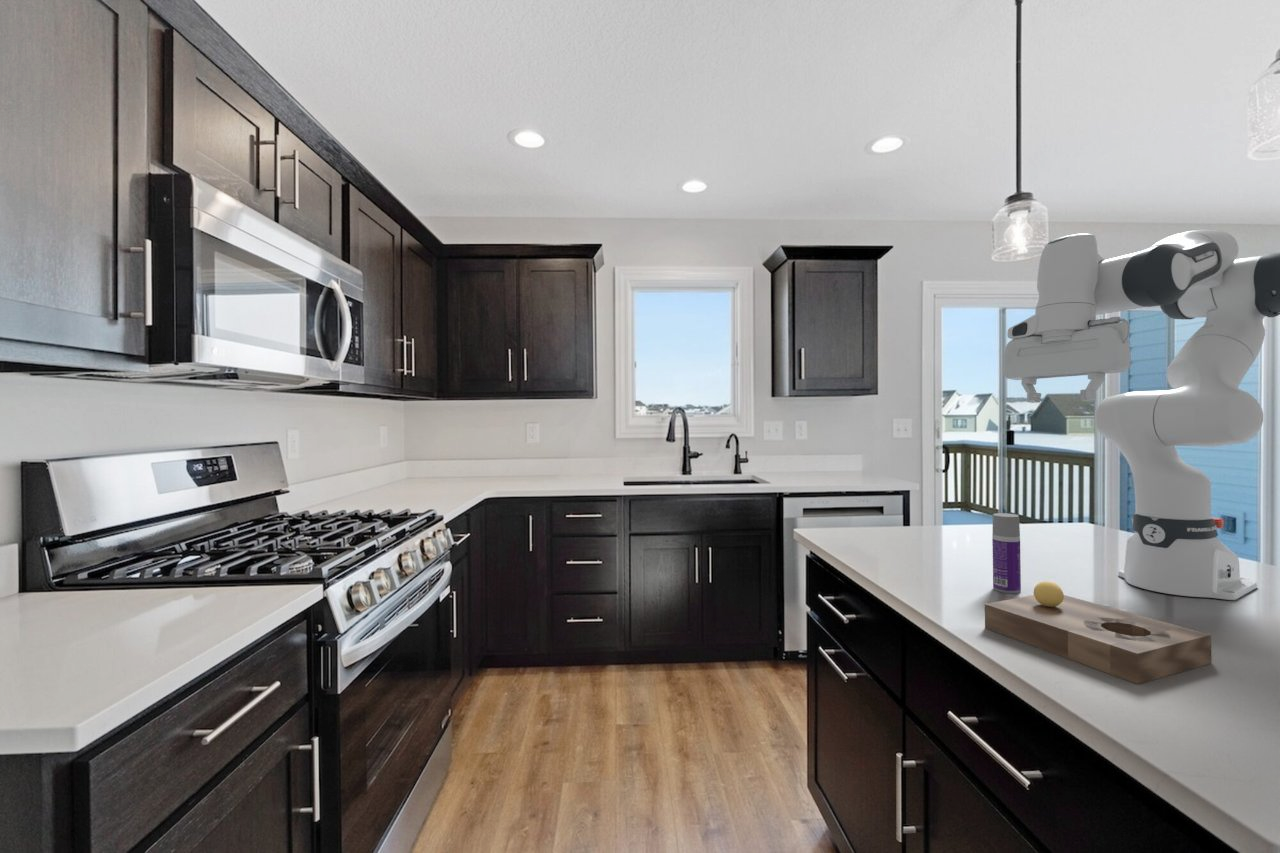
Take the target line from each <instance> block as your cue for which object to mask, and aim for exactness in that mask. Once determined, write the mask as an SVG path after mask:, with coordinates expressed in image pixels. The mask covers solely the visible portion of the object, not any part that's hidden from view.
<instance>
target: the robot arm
mask: <svg viewBox="0 0 1280 853" xmlns="http://www.w3.org/2000/svg"><path fill="white" fill-rule="evenodd" d="M1098 252H1099V251H1098V243H1097V238H1096V236H1095V234H1093V233H1088V232H1086V233H1085V232H1082V233H1075V234H1070V235H1069V234H1068V235H1065V236H1062V237H1058V238H1056V239H1052V240H1051V241H1049V242H1046V244H1045V245H1044V247H1043V249H1042V251H1041V255H1040V258H1039V265H1038V270H1037V281H1036V283H1037V284H1036V289H1037V292H1038V301H1037V303H1036V306H1035V311H1034V312H1035V314H1033V315H1032V316H1030V317H1028V318H1026V319H1025V320H1023V321H1020V322H1018V323H1017V324H1014V325H1012V326H1011V327H1009V328H1008V329H1007V334H1006V335H1007V338H1008V339H1009V340H1010V339H1011V340H1010V341H1008V343H1007V344H1006V346H1005V348H1004V354H1003V358H1002V359H1003V361H1002V374H1003V376H1004V377H1005V379H1007V380H1008V379H1009V380H1011V381H1021V383H1020V384H1021V386H1022V388H1023V389H1024V391H1025V393H1026V401H1027V403H1030V404H1035V403H1036V404H1037V403H1038V404H1039V403H1041V401H1042V399H1041V397H1042V393H1040V392H1037V390H1036V388H1035V386H1034V385H1037V379H1038V380H1039V379H1050V378H1051V379H1052V378H1053V379H1054V378H1065V377H1067V378H1068V377H1077V376H1078V377H1079V376H1087V380H1090V381H1089V382H1088V384H1087V385H1086V388H1085V389H1080V396H1079V399H1080V400H1081V401H1084V402H1090V401H1091V402H1092V401H1095V400H1097V399H1096V398H1097V391H1098V390H1099V389H1100V387H1101V386H1102V384H1103V383H1104V382H1105V379H1106V378H1105V376H1106V374H1119V373H1126V371H1127V370H1128V369H1129V368H1130V367H1131V363H1132V362H1131V359H1132V358H1131V346H1130V341H1129V338H1130V330H1131V324H1130V322H1128V320H1126V319H1125V318H1121V317H1120V316H1112V317H1109V318H1100V319H1098V318H1097V319H1096V316H1099V315H1104V314H1111V313H1118V312H1123V311H1131V310H1136V309H1142V308H1150V307H1153V308H1154V307H1159V306H1160V307H1159V308H1160V309H1161V311H1162V312H1163V313H1164V314H1165V315H1166V316H1168V318H1170V319H1173V320H1194V319H1197V318H1206V319H1205V321H1204V324H1203V325H1202V326H1201V327H1199V329H1197V330H1196V332H1194V333H1193V335H1192V336H1190V338H1189V339H1188V340H1186V342H1185V343H1184V345H1183V346H1182V347H1181V348H1180V350H1179V351H1178V353H1177V354H1176V356H1175V357H1174V358H1173V359H1172V361H1171V362H1170V364H1169V365H1168V366H1167V370H1166V380H1167V383H1168V385H1169V386H1170V387H1171V389H1166V390H1165V389H1164V390H1163V389H1162V390H1161V389H1160V390H1159V389H1158V390H1143V391H1142V390H1141V391H1140V390H1139V391H1128V392H1124V393H1120V394H1119V393H1118V394H1116V395H1111V396H1107V397H1105V398H1103V400H1101V402H1100V403H1099V404H1098V405H1097V407H1096V408H1095V412H1094V417H1093V418H1094V425H1095V427H1096V430H1097V431H1098V433H1099V434H1100V435H1101V437H1103V438H1104V439H1105V440H1108V441H1109V442H1111V443H1112V445H1114V446H1115V448H1117V449H1118V450H1119V452H1120V453H1121V454H1122V455H1123V457H1124V458H1125V460H1126V462H1127V464H1128V466H1129V468H1130V471H1131V474H1132V479H1133V488H1134V506H1135V512H1134V513H1133V514H1132V518H1131V523H1132V530H1133V531H1134V532H1133V534H1132V535H1131V536H1129V537H1128V538H1127V540H1126V546H1125V547H1126V548H1125V557H1124V558H1125V559H1124V568H1123V569H1119V570H1118V573H1117V575H1118V576H1119V577H1120V578H1123V579H1124V580H1125V582H1126V583H1127V584H1130V585H1131V586H1134V587H1137V588H1141V589H1144V590H1148V591H1151V592H1157V593H1163V594H1168V595H1175V596H1182V597H1192V598H1196V597H1197V598H1210V599H1211V598H1212V599H1219V600H1228V601H1236V600H1238V599H1239V598H1241V597H1243V596H1245V595H1247V594H1248V593H1250V592H1251V591H1253V590H1255V589H1256V588H1257V589H1258V583H1257V582H1256V581H1254V580H1252V579H1251V580H1250V579H1247V578H1244V577H1241V572H1240V559H1239V557H1238V555H1237V554H1236V553H1235V552H1233V551H1232V550H1231V549H1230V548H1229V547H1227V546H1226V544H1224V543H1223V542H1222V541H1221V540H1220V539H1218V538H1217V537H1218V536H1219V534H1218V529H1223V528H1224V526H1225V520H1224V518H1220V517H1212V494H1211V492H1212V488H1211V481H1210V479H1209V477H1208V476H1207V475H1206V474H1205V473H1204V472H1203V471H1202V470H1200V469H1198V468H1197V467H1195V466H1193V465H1190V464H1189V463H1186V462H1185V461H1184V460H1183V459H1182V458H1181V457H1180V455H1179V454H1178V452H1177V449H1176V447H1179V446H1180V447H1181V446H1182V447H1206V448H1207V447H1208V448H1209V447H1210V448H1211V447H1212V448H1214V447H1223V446H1232V445H1238V444H1245V443H1247V442H1249V441H1251V440H1252V439H1253V438H1254V437H1256V435H1257V434H1258V433H1259V432H1260V430H1261V428H1262V426H1263V423H1264V412H1263V408H1262V406H1261V404H1260V402H1258V400H1257V399H1256V398H1255V397H1254V396H1253V395H1252V394H1251V393H1249V392H1248V391H1245V390H1241V389H1240V388H1239V386H1240V384H1241V383H1242V381H1243V379H1244V377H1245V375H1246V374H1247V373H1248V371H1249V369H1250V368H1251V367H1252V365H1253V364H1254V362H1255V361H1256V359H1257V358H1258V355H1259V353H1260V351H1261V349H1262V346H1263V344H1264V339H1265V336H1266V329H1265V325H1264V322H1263V321H1264V319H1265V317H1268V318H1275V317H1278V316H1280V252H1270V253H1269V252H1268V253H1264V254H1262V255H1256V256H1249V257H1242V258H1237V257H1238V254H1239V244H1238V241H1237V240H1236V239H1235V237H1234V236H1233V235H1232V234H1231V233H1228V232H1227V231H1224V230H1222V229H1221V230H1220V229H1208V228H1207V229H1203V228H1202V229H1196V230H1195V229H1194V230H1189V231H1184V232H1180V233H1176V234H1173V235H1170V236H1167V237H1165V238H1163V239H1161V240H1159V241H1156V243H1154V244H1153V245H1151V246H1149V247H1148V248H1146V249H1143V250H1141V251H1137V252H1133V253H1129V254H1124V255H1120V256H1117V257H1112V258H1109V259H1106V258H1104V257H1102V256H1101V255H1100V254H1099V253H1098Z"/></svg>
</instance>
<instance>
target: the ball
mask: <svg viewBox="0 0 1280 853" xmlns="http://www.w3.org/2000/svg"><path fill="white" fill-rule="evenodd" d="M1033 595H1034V596H1035V599H1036V600H1037V601H1038V602H1039V603H1040V604H1042V605H1044V606H1047V607H1055V606H1058V605H1059V604H1061V603H1062V601H1063V599H1064V595H1065V593H1064V591H1063V589H1062V588H1061V586H1059V585H1058V584H1057V583H1055V582H1053V581H1049V580H1048V581H1047V580H1046V581H1044V580H1043V581H1041V582H1039V583H1037V584H1036V585H1035V587H1034V588H1033Z"/></svg>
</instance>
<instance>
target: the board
mask: <svg viewBox="0 0 1280 853" xmlns="http://www.w3.org/2000/svg"><path fill="white" fill-rule="evenodd" d="M984 629H986V630H989V631H992V632H994V633H998V634H1000V635H1003V636H1005V637H1009V638H1011V639H1013V640H1017V641H1019V642H1021V643H1025V644H1028V645H1029V646H1032V647H1035V648H1039V649H1041V650H1043V651H1047V652H1049V653H1051V654H1054V655H1057V656H1059V657H1062V658H1065V659H1068V660H1070V661H1071V660H1072V661H1074V662H1076V663H1079V664H1081V665H1084V666H1087V667H1090V668H1092V669H1095V670H1098V671H1101V672H1104V673H1107V674H1109V675H1112V676H1114V677H1117V678H1119V679H1123V680H1126V681H1128V682H1130V683H1134V684H1137V685H1140V684H1143V683H1148V682H1150V681H1154V680H1158V679H1161V678H1164V677H1170V676H1172V675H1175V674H1179V673H1182V672H1186V671H1189V670H1193V669H1196V668H1200V667H1203V666H1207V665H1210V664H1213V663H1212V658H1213V657H1212V634H1209V633H1207V632H1206V633H1205V632H1202V631H1198V630H1195V629H1192V628H1189V627H1184V626H1180V625H1176V624H1174V623H1169V622H1166V621H1161V620H1158V619H1155V618H1150V617H1148V616H1143V615H1139V614H1135V613H1132V612H1128V611H1124V610H1122V609H1117V608H1114V607H1110V606H1106V605H1102V604H1099V603H1095V602H1092V601H1091V602H1090V601H1087V600H1084V599H1080V598H1077V597H1073V596H1069V595H1065V594H1064V599H1063V601H1062V603H1061V604H1059V605H1058V606H1055V607H1047V606H1044V605H1042V604H1040V603H1039V602H1038V601H1037V600H1036V599H1035V596H1034V594H1032V595H1027V596H1021V597H1015V598H1011V599H1010V598H1009V599H1004V600H999V601H993V602H989V603H984Z"/></svg>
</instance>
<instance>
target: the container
mask: <svg viewBox="0 0 1280 853" xmlns="http://www.w3.org/2000/svg"><path fill="white" fill-rule="evenodd" d="M1020 529H1021V528H1020V516H1019V515H1018V514H1016V513H1008V512H1007V513H1006V512H1000V513H999V512H998V513H996V512H995V513H992V537H991V538H992V589H993V590H994V591H995V592H996V591H997V592H999V593H1004V594H1014V595H1015V594H1020V593H1021V592H1022V586H1021V585H1022V584H1021V583H1022V574H1021V573H1022V572H1021V571H1022V570H1021V568H1022V566H1021V532H1020Z"/></svg>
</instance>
